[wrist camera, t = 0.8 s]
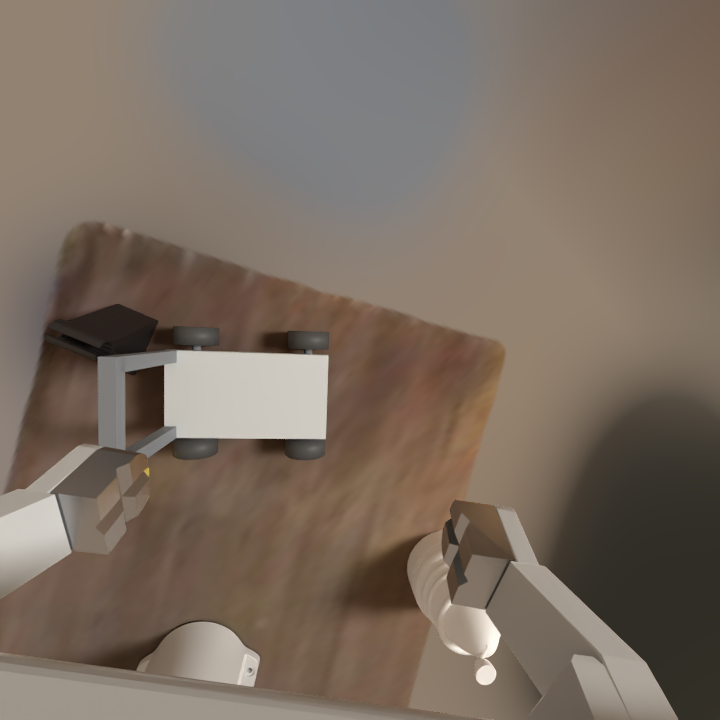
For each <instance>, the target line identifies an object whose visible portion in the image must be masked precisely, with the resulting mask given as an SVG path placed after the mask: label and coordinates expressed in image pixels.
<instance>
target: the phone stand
mask: <svg viewBox="0 0 720 720" xmlns="http://www.w3.org/2000/svg"><path fill="white" fill-rule="evenodd" d="M157 323H158V321H157V320H155V319H153V318H150V317H148V316H146V315H143V314H141V313H139V312H136V311H134V310H131V309H129V308H127V307H124V306H122V305H120V304H116V305H113V306H110V307H107V308H104V309H102V310H99V311H96V312H93V313H90V314H87V315H84V316H81V317H78V318H75V319H73V320H69V321H64V320H60V319H59V320H55V321H53V322H52V323H51V324H50V325H49V326H48V328H50V329H53V330H55V331H58V332H60V333H62V335H61V336H59V338H56V337H53V336H51V335H48V334H44V338H45V340H46V341H47V342H49V343H52V344H54V345H57V346H59V347H62V348H64V349H67V350H69V351H72V352H74V353H77V354H79V355H82V356H84V357H87V358H89V359H92V360H94V361H97V362H98V357H99V356H109V355H120V354H130V353H140V352H145V351H146V348H147V347H148V344H149V342H150V340H151V337H152V335H153V333H154V330H155V328H156V326H157ZM136 372H137V370H134V371H128V372H127V373H130V374H132V375H135V374H136Z"/></svg>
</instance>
